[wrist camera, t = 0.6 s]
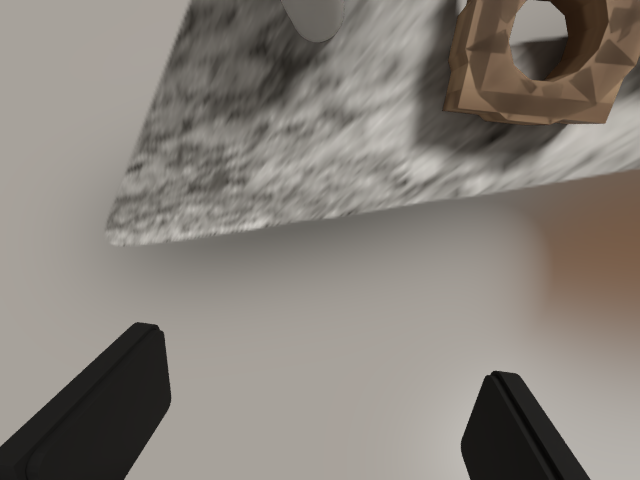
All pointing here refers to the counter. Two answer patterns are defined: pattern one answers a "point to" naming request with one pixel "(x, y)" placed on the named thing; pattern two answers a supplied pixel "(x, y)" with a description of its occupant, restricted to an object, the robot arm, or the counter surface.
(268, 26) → the counter surface
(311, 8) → the beverage can
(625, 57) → the socket block
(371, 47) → the counter surface
